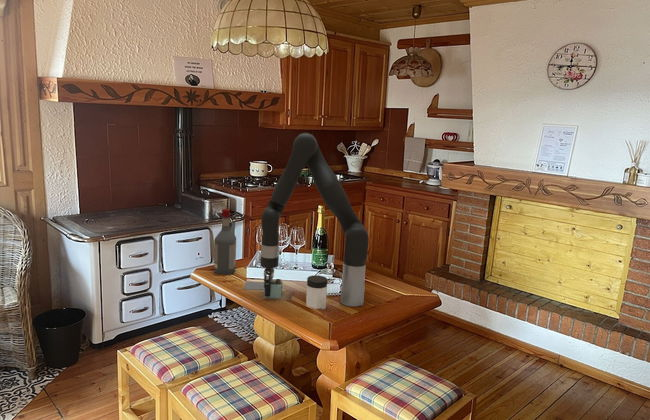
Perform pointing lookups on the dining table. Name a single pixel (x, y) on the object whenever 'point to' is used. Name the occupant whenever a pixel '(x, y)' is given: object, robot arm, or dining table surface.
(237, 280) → the dining table surface
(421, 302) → the dining table surface
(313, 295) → the jar
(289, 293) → the post stand
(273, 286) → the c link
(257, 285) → the trivet
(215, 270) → the liquor
